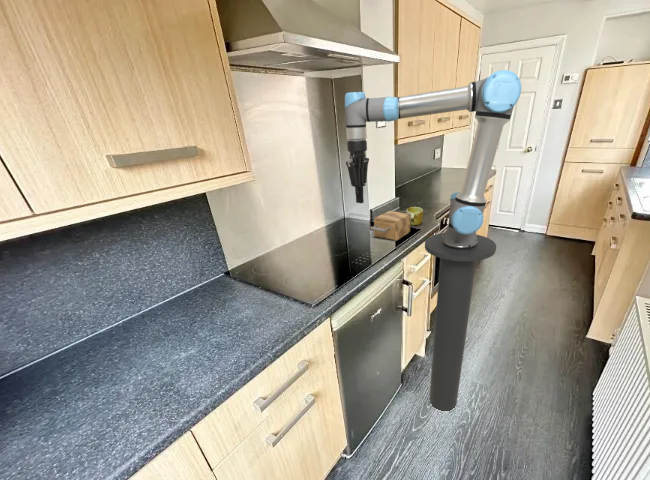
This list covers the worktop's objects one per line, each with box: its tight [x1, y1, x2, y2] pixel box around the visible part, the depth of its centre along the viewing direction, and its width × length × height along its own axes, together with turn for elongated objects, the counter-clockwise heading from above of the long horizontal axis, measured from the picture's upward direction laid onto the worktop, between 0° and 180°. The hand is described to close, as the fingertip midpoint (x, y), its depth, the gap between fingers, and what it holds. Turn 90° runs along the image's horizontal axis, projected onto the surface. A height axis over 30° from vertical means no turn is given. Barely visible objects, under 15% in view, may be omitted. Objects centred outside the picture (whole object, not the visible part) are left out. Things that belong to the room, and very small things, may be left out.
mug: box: [405, 206, 424, 227], centre depth 174 cm, size 12×10×10 cm
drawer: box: [369, 220, 396, 240], centre depth 156 cm, size 20×11×8 cm, turn 147°
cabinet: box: [373, 210, 411, 242], centre depth 160 cm, size 15×13×10 cm
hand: (359, 202), depth 131 cm, fingers closed
